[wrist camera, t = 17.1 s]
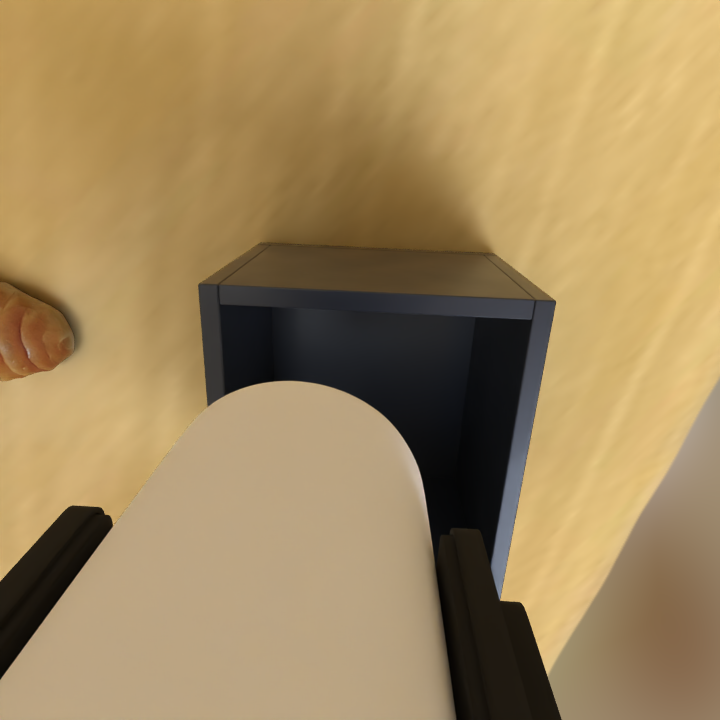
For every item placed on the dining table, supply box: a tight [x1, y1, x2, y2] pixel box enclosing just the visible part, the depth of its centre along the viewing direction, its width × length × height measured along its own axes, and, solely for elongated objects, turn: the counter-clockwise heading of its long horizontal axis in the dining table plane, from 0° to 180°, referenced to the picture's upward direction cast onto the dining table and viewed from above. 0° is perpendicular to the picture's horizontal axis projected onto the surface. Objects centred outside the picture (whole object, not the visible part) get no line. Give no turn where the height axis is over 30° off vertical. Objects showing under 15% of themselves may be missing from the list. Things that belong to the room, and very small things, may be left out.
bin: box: [198, 243, 556, 600], centre depth 27 cm, size 16×14×11 cm
